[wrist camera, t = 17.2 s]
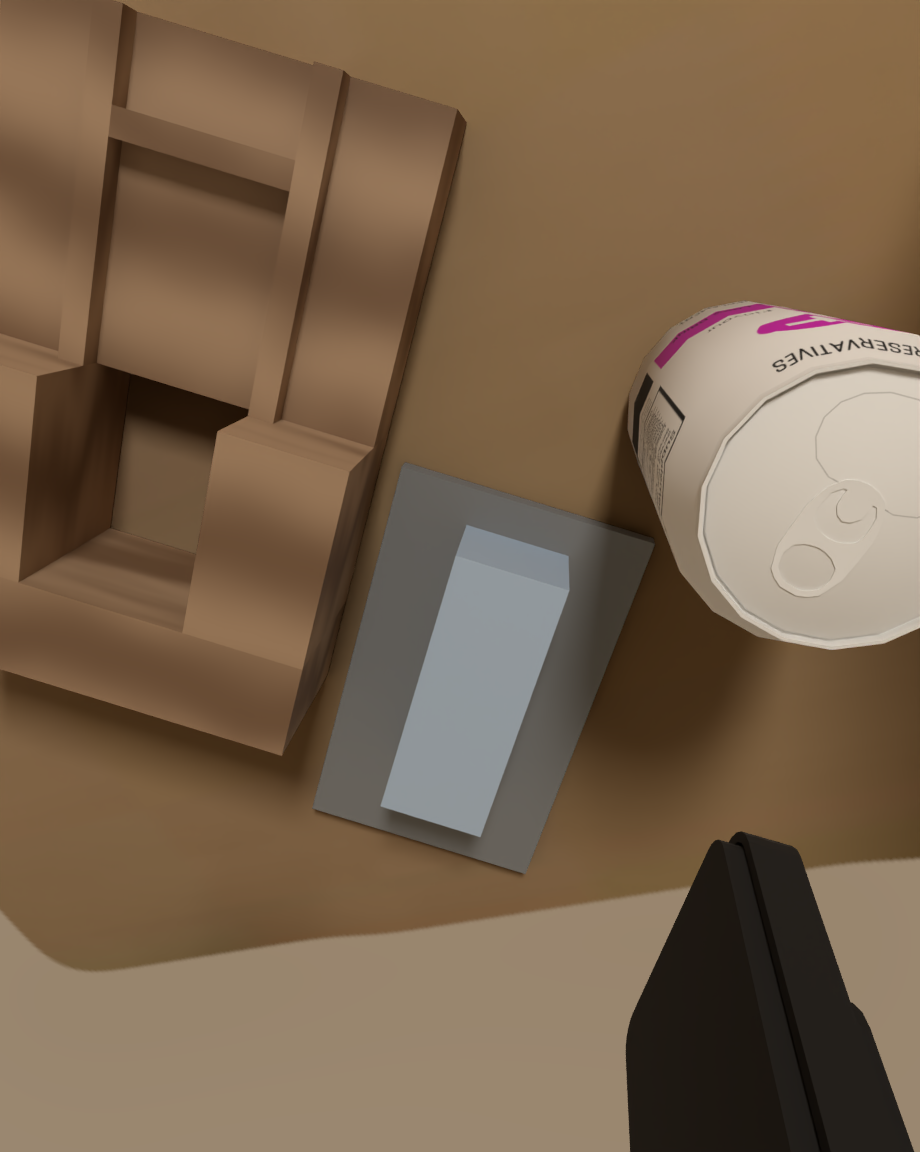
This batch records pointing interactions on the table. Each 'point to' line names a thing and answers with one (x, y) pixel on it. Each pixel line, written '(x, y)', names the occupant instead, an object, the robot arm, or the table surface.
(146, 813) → the table surface
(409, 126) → the jig
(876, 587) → the supplement can
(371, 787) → the mat
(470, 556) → the bar
